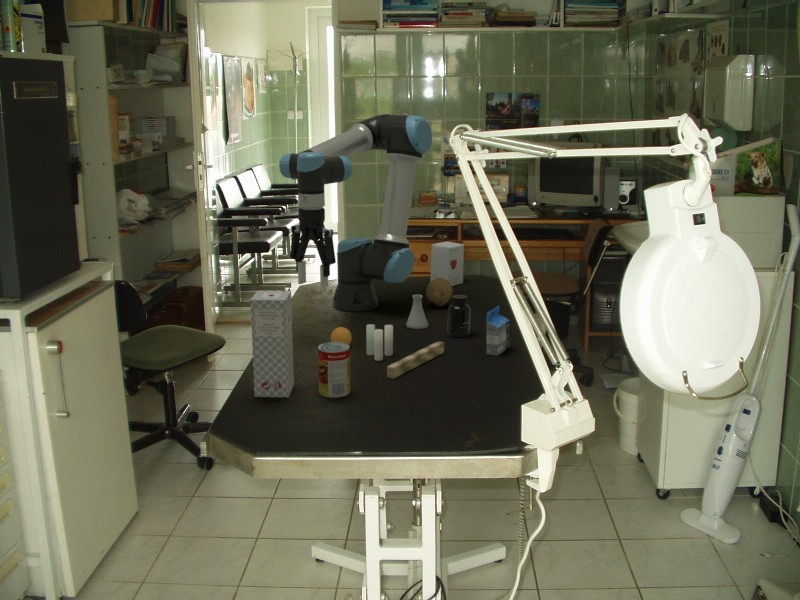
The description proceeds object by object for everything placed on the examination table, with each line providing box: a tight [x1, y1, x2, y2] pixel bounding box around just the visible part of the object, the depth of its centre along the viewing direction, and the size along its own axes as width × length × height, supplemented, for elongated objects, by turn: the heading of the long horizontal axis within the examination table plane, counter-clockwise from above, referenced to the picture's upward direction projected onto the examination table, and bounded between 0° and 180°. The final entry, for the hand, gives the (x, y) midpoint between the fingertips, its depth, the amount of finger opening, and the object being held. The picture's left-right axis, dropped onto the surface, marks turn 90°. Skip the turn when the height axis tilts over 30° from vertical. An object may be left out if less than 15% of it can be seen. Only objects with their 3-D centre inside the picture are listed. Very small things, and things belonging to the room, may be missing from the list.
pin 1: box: [373, 328, 384, 362], centre depth 245 cm, size 2×2×8 cm
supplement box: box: [430, 241, 465, 287], centre depth 327 cm, size 9×9×15 cm
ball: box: [330, 326, 352, 346], centre depth 255 cm, size 6×6×6 cm
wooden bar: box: [386, 340, 445, 380], centre depth 242 cm, size 26×2×3 cm, turn 146°
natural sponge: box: [425, 278, 454, 308], centre depth 297 cm, size 9×9×10 cm
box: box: [250, 290, 295, 398], centre depth 219 cm, size 8×8×25 cm
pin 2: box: [384, 324, 394, 357], centre depth 249 cm, size 2×2×8 cm
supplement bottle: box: [447, 294, 471, 338], centre depth 267 cm, size 7×7×12 cm
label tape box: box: [485, 305, 511, 356], centre depth 252 cm, size 9×4×12 cm, turn 151°
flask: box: [405, 294, 429, 330], centre depth 275 cm, size 7×7×10 cm
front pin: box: [365, 323, 376, 356], centre depth 249 cm, size 2×2×8 cm
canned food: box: [317, 341, 351, 399], centre depth 221 cm, size 8×8×12 cm
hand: (313, 285), depth 257 cm, fingers open, 8 cm apart
